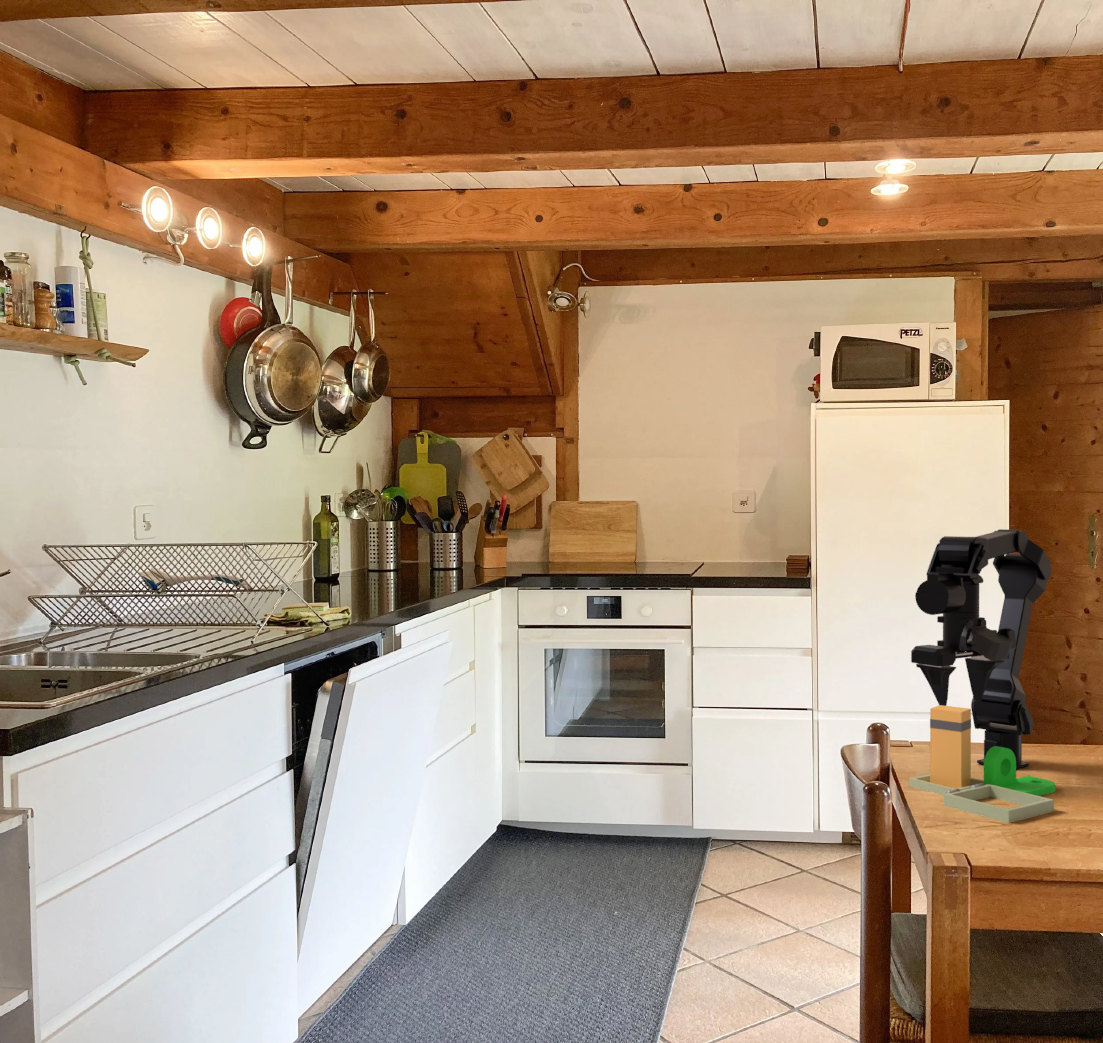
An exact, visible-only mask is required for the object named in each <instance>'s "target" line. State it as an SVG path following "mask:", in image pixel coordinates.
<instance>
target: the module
mask: <svg viewBox="0 0 1103 1043" xmlns="http://www.w3.org/2000/svg"><path fill="white" fill-rule="evenodd" d="M929 709H930V713H929V715H930V717H929V728H930V729H929V732H930V733H929V734H930V735H929V737H930V739H929V741H930V743H929V745H930V746H929V747H930V748H929V754H930V755H929V757H930V758H929V760H930V761H929V768H930V769H929V773H930V783H934V784H938V785H942V786H946V787H950V788H954V789H957V788H962V787H966V786H971V778H972V775H971V774H972V773H971V769H972V768H971V766H972V765H971V761H972V758H971V757H972V756H971V755H972V754H971V753H972V752H971V751H972V750H971V749H972V745H971V744H972V739H971V738H972V737H971V736H972V734H971V733H972V731H971V730H972V718H971V717H972V709H971V708H967V707H960V706H959V707H958V706H950V705H946V706H943V705H939V704H938V705H936V706H934V707H933V706H932V708H929Z"/></svg>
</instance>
